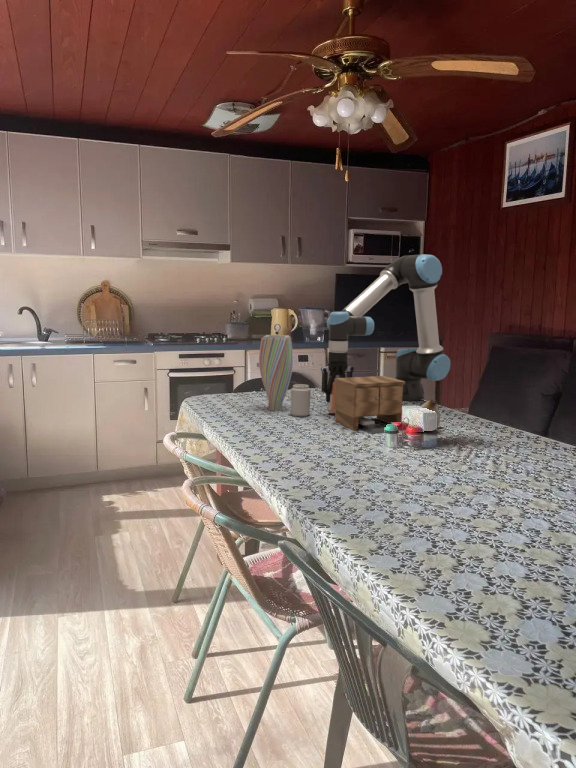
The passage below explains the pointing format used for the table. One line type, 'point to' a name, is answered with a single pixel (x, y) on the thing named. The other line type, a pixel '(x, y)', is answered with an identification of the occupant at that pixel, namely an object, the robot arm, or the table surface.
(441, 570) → the table surface
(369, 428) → the token
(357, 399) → the cabinet
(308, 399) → the grey jar
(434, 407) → the fruit
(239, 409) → the table surface
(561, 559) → the table surface
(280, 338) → the vase
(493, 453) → the table surface
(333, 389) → the orange upright piece
